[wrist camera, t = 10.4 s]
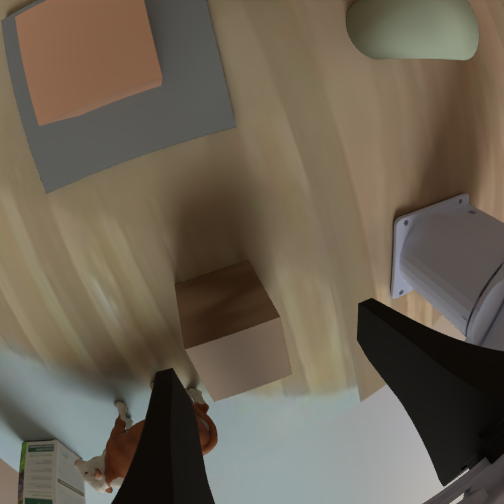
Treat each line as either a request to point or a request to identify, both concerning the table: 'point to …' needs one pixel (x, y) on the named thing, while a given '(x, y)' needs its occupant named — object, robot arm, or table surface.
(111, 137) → the slate mat
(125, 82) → the terracotta brick
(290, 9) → the table surface
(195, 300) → the walnut block
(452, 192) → the table surface
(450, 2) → the sage cylinder
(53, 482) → the syrup box
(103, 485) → the bull figurine
